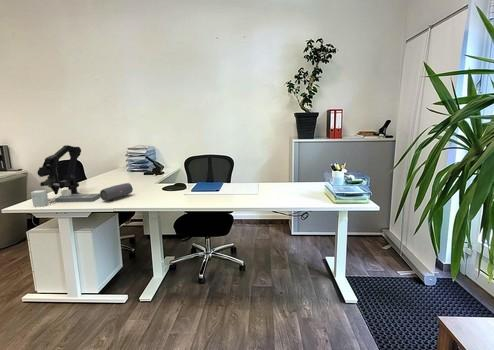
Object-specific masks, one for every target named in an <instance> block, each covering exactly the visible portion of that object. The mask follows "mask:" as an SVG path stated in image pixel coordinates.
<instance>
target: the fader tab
mask: <svg viewBox="0 0 494 350" xmlns="http://www.w3.org/2000/svg"><path fill="white" fill-rule="evenodd" d="M60 193H61V195H60V196H62V197H63V196H70V195H71V190H68V189H63V190H61V192H60Z"/></svg>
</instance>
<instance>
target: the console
mask: <svg viewBox="0 0 494 350" xmlns="http://www.w3.org/2000/svg"><path fill="white" fill-rule="evenodd" d="M98 199H100V192H99V193H79V194H71V195H70V196H63V197H62V195H60V196H57V197H55V198H54V200H55V203H91V202H92V203H93V202H95V201H97V200H98Z"/></svg>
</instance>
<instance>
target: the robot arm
mask: <svg viewBox="0 0 494 350" xmlns="http://www.w3.org/2000/svg"><path fill="white" fill-rule="evenodd" d="M67 153H68V155H69V157H70V158H69V162H68V163H69V164H68V169H67V175H63V180H60V179H59V176H60V175H59V174H58V168H59V167H60V166H59V165H58V163H59V162H60V159H61V158H62V157H63V156H65V155H66V154H67ZM81 153H82V149H81V147H80V146H72V145H67V144H66V145H63V146H62V147H61V148H60V149H58V150H57V151H56V152H55V153H54V154H51V155H50V156H47V157H45V159H44V162H43V163H42V166H40V167H39V168H38V169H37V175H38V176H39V178H43V177H47V179H45V180H43V181H41V182H40V183H39V185H40V187H48V188H51V190H52V191H53V193H54V195H58V193H59V191H60V190H59V189H60V188H61V187H65V188H67V190H71V194H80V192H78V187H80V183H79V182H77V177H76V176H75V175H76V169H77V163H78V158H79V157H80V155H81Z"/></svg>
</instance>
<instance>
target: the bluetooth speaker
mask: <svg viewBox="0 0 494 350" xmlns="http://www.w3.org/2000/svg"><path fill="white" fill-rule="evenodd" d="M133 190H134V189H133V186H132V184H131V183H129V182H126V183H121V184H115V185H112V186H109V187H106V188H103V189H101V190H100V192H99V193H100V197H101V200H102V201H104V202H105V201H110V200H111V201H115V200H118V199H122V198H124V197H126V196H127V195H129V194H132V193H133Z"/></svg>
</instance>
